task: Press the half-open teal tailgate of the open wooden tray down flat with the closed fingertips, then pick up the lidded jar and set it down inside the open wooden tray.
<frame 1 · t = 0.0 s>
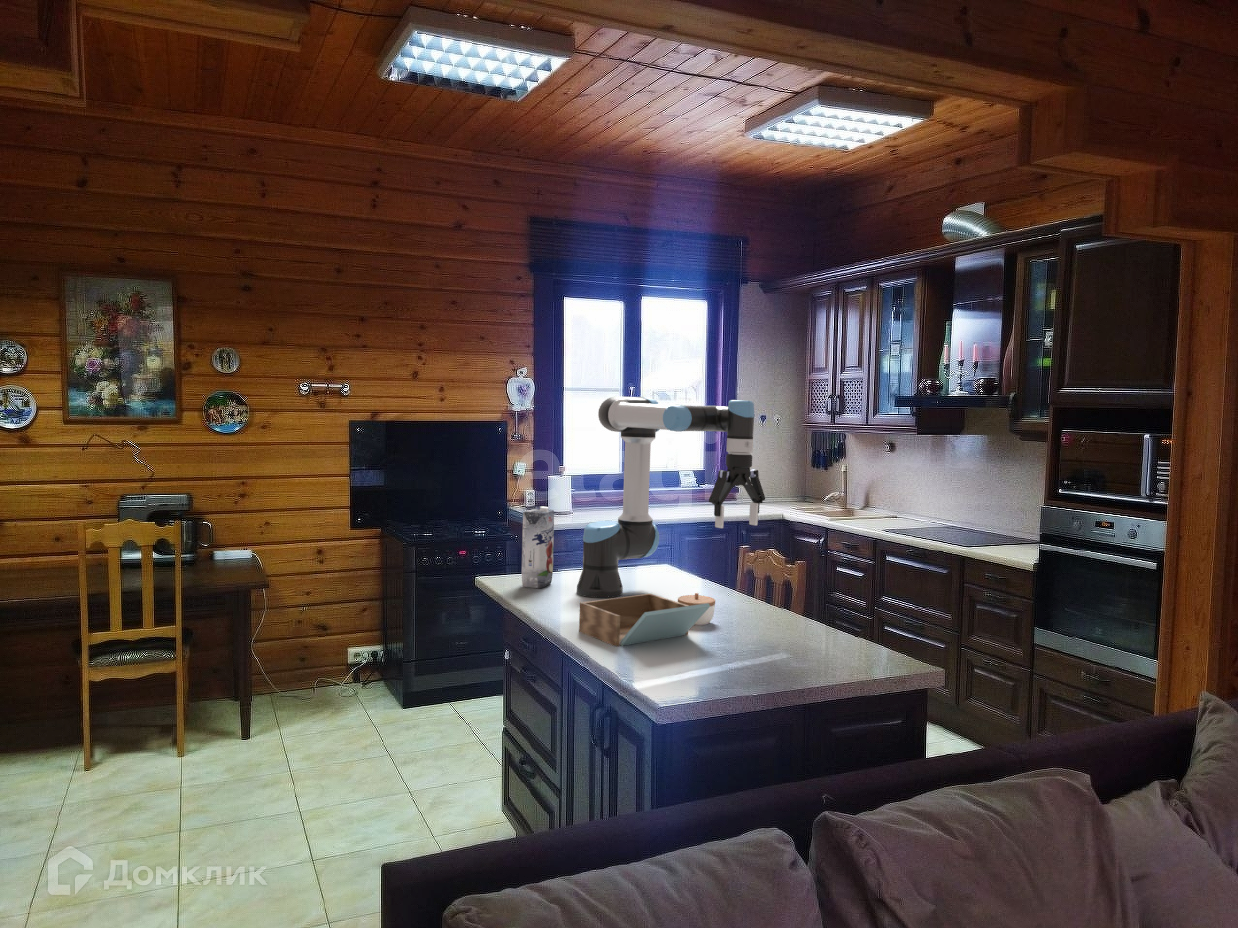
hand: (736, 526, 261), 28 cm above the counter, fingers open, 13 cm apart
open wooden tray: (633, 636, 242), on the counter
tailgate: (664, 625, 231), point 6 cm above the counter, hinge at 45.0°
juice carton: (536, 586, 304), on the counter
lidded jar: (695, 626, 257), on the counter
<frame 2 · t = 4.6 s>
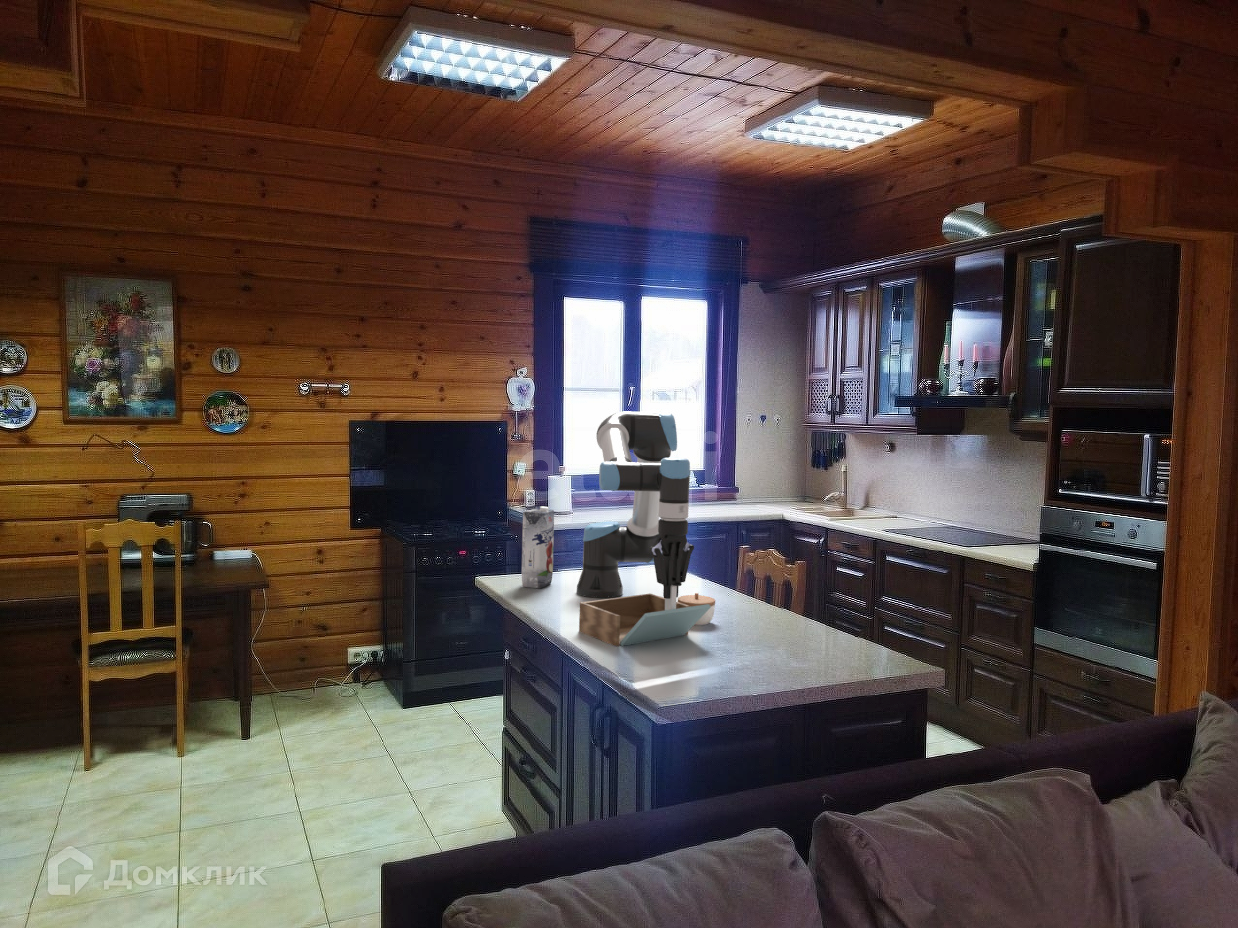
hand: (670, 610, 229), 10 cm above the counter, fingers closed
tailgate: (664, 625, 231), point 6 cm above the counter, hinge at 46.2°, touching gripper
everything else where it was.
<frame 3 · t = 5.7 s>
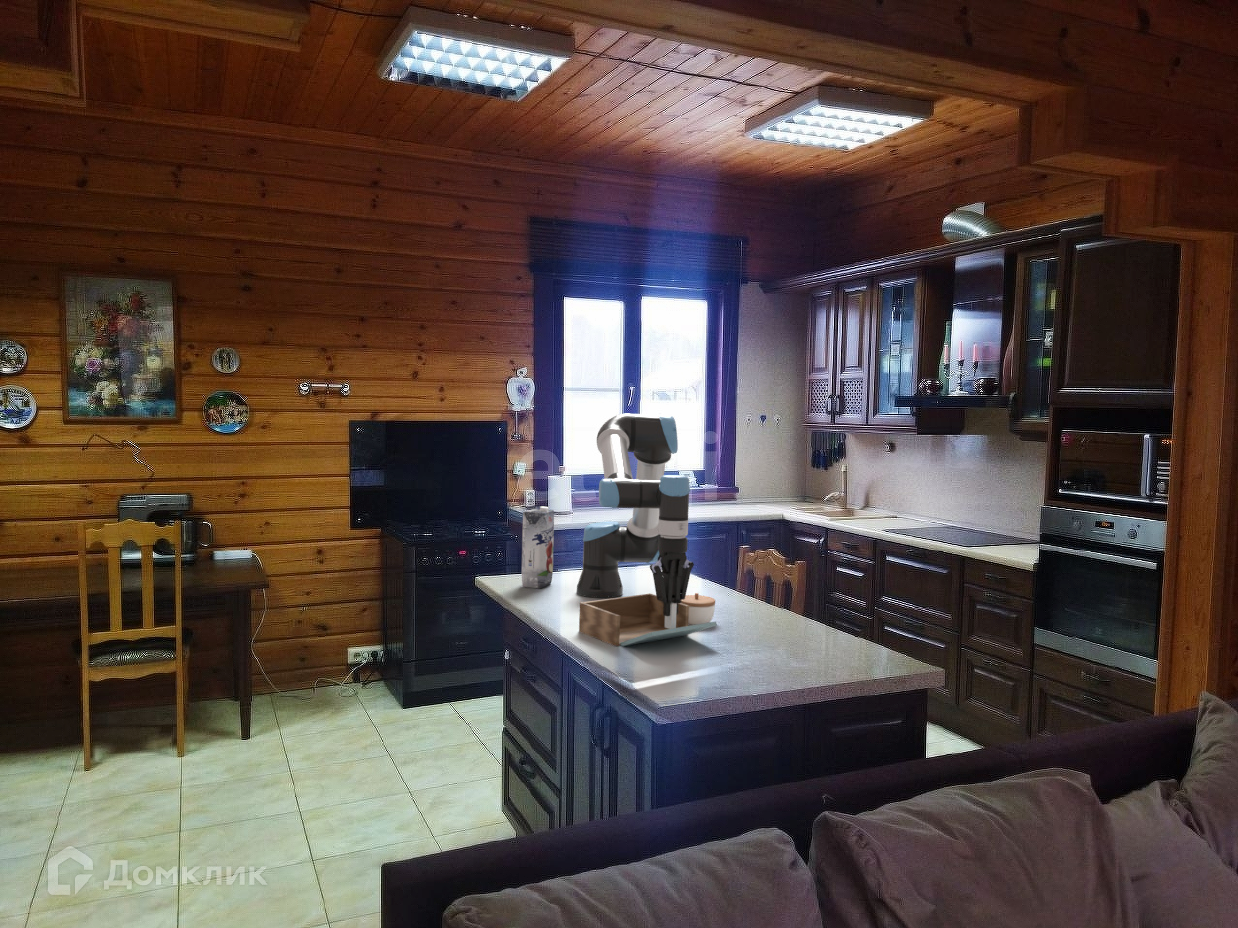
hand: (670, 627, 229), 6 cm above the counter, fingers closed
tailgate: (667, 634, 230), point 4 cm above the counter, hinge at 65.7°, touching gripper
everything else where it was.
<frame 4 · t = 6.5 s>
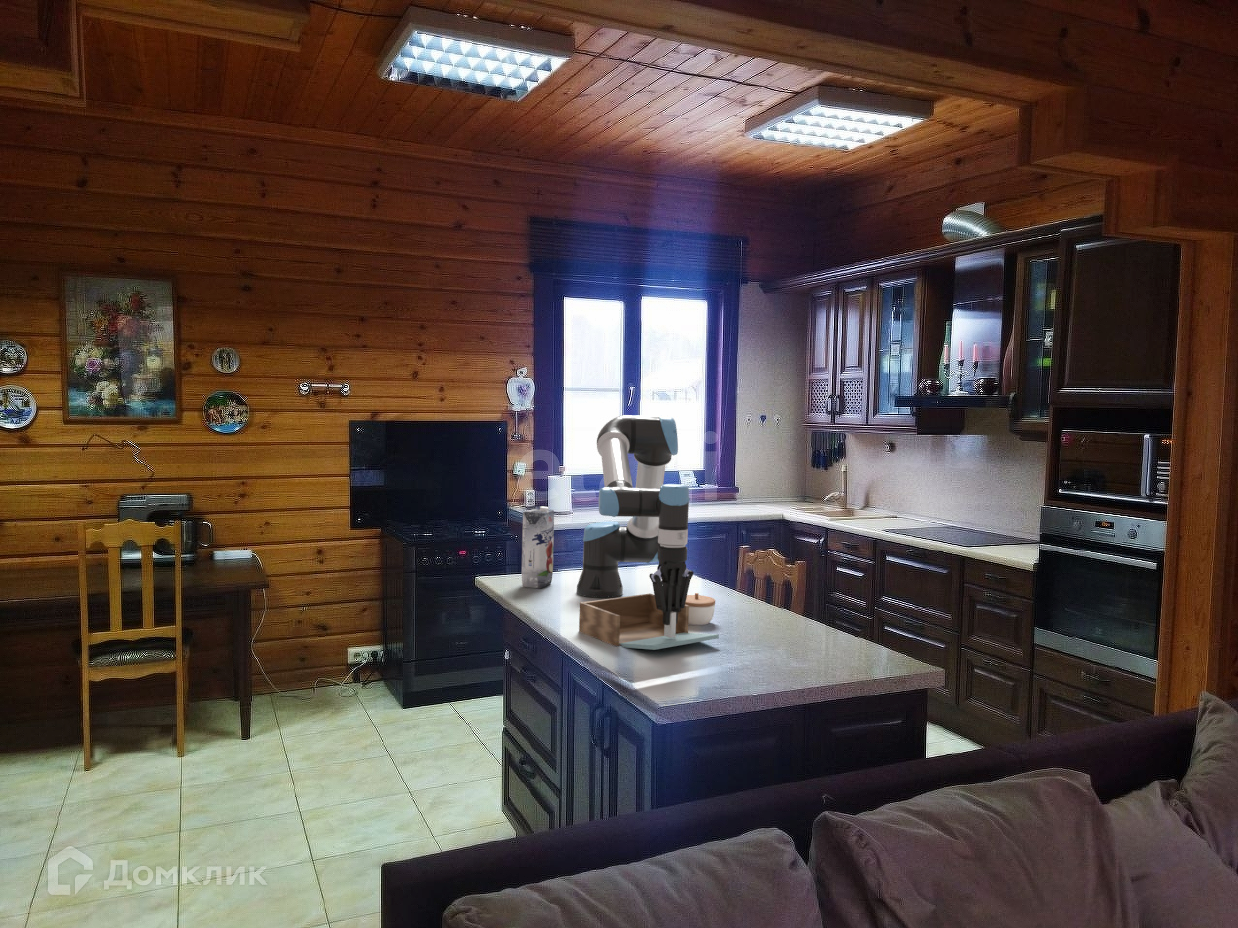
hand: (669, 636, 230), 4 cm above the counter, fingers closed
tailgate: (668, 640, 230), point 3 cm above the counter, hinge at 78.8°, touching gripper
everything else where it was.
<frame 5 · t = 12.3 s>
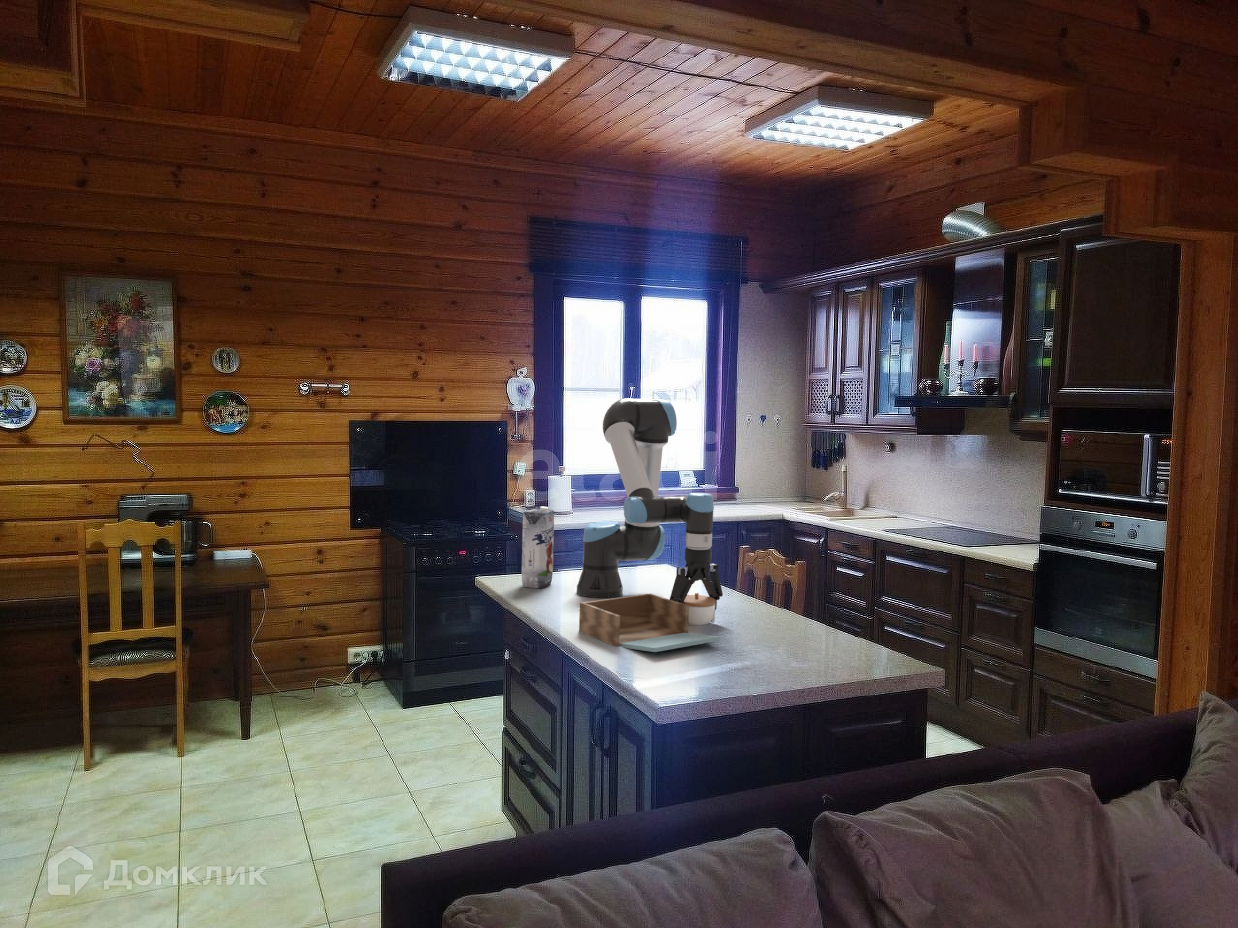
hand: (695, 623, 257), 0 cm above the counter, fingers closed on lidded jar, 11 cm apart
tailgate: (668, 641, 230), point 2 cm above the counter, hinge at 81.0°
lidded jar: (695, 626, 257), on the counter, touching gripper
everything else where it was.
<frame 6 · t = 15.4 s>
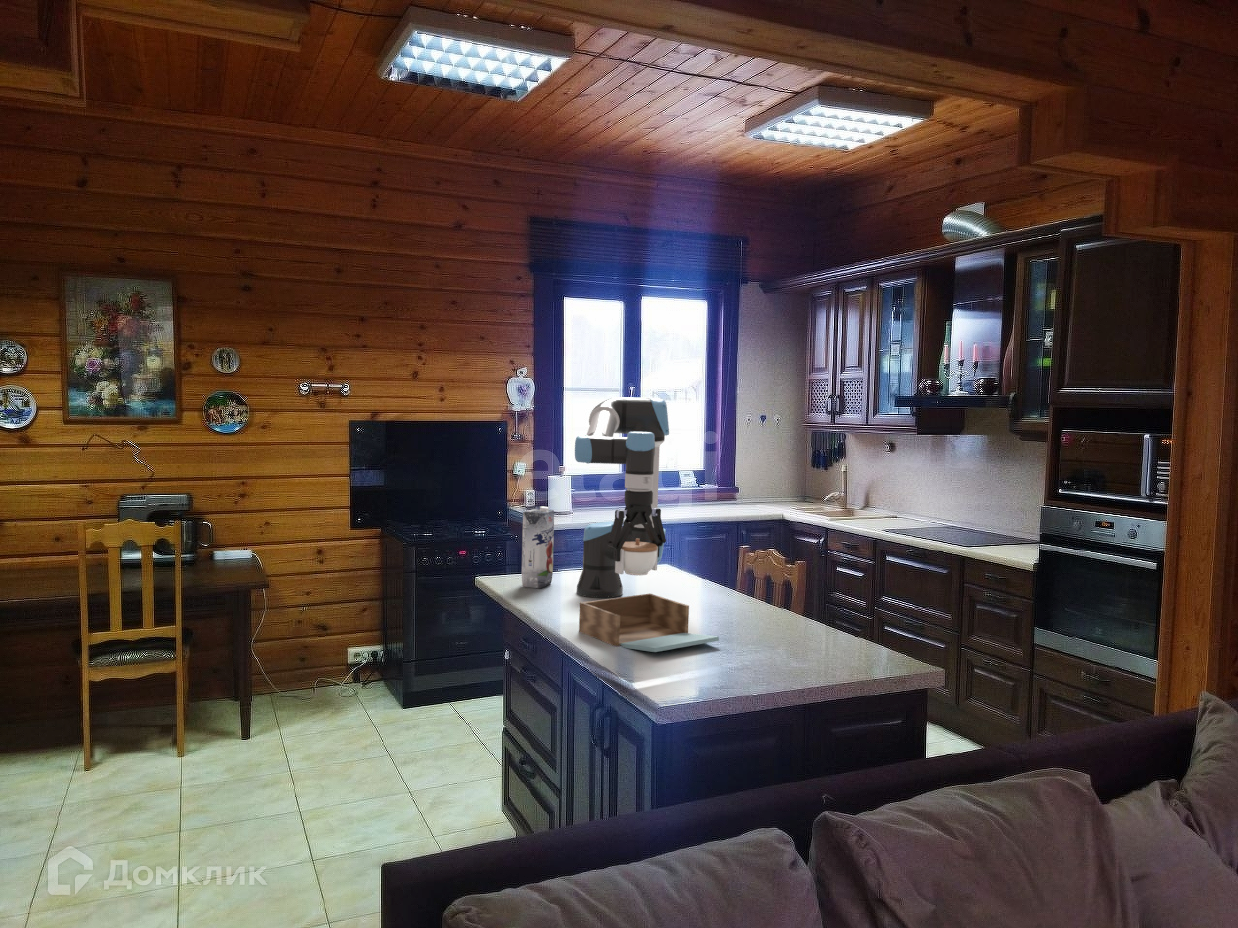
hand: (636, 571, 241), 18 cm above the counter, fingers closed on lidded jar, 11 cm apart
lidded jar: (636, 573, 241), point 17 cm above the counter, touching gripper
everything else where it was.
when the fingers open (4 cm above the counter, at t = 18.6 s): lidded jar drops 2 cm, resting on open wooden tray.
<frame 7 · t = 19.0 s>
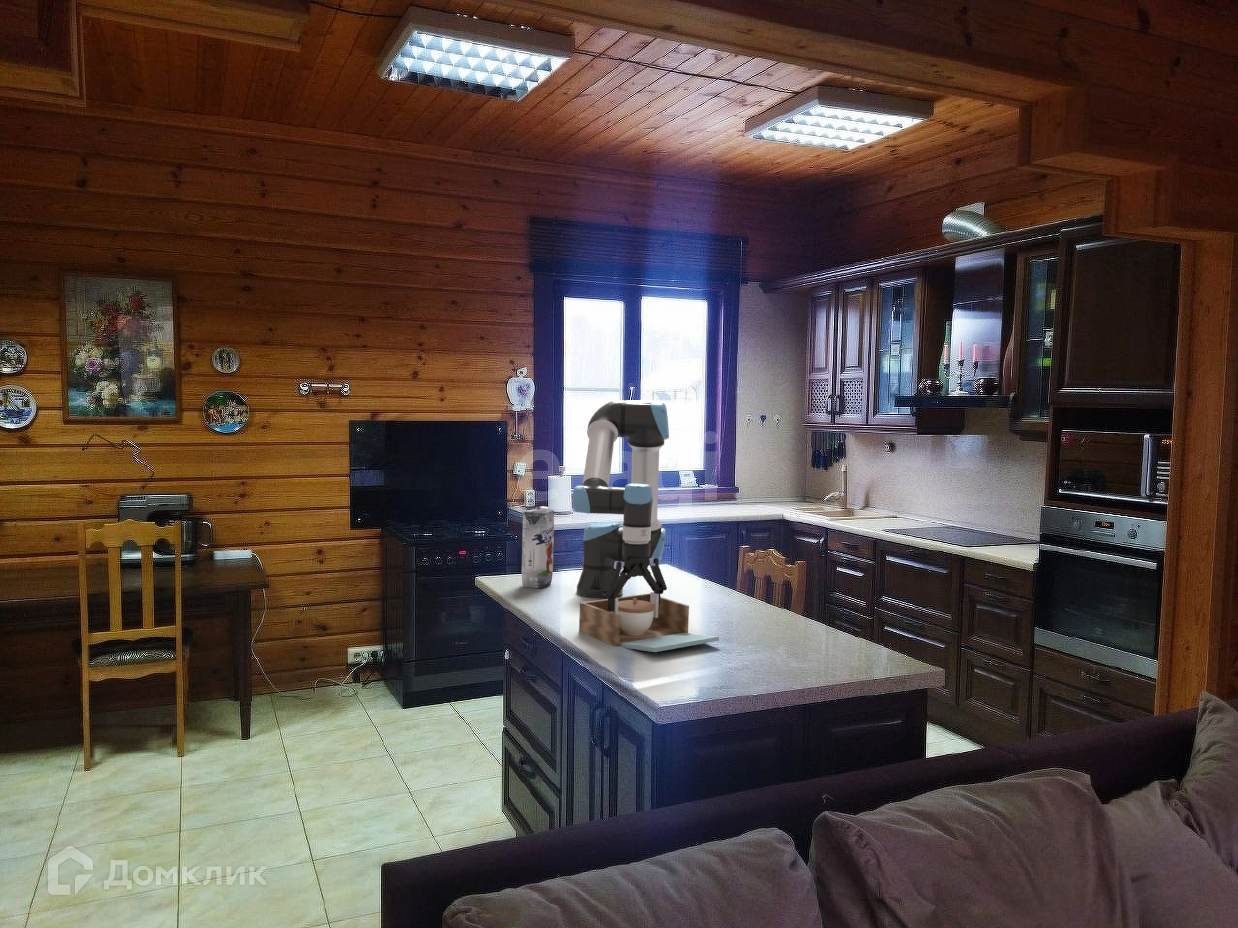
hand: (634, 619, 242), 5 cm above the counter, fingers open, 13 cm apart
lidded jar: (633, 633, 242), point 1 cm above the counter, touching open wooden tray
everything else where it was.
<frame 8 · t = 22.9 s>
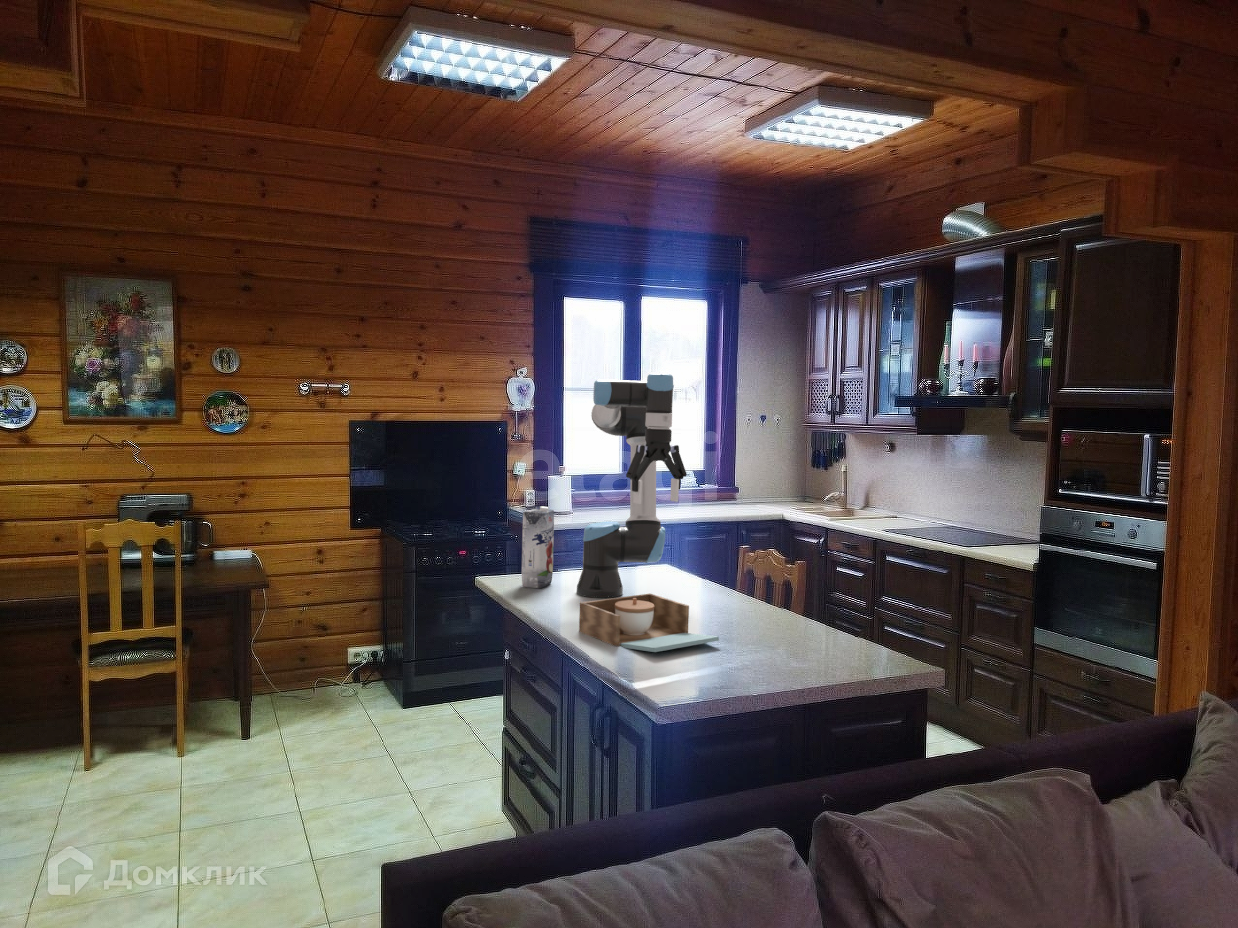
hand: (656, 502, 257), 35 cm above the counter, fingers open, 13 cm apart
nothing on the counter moved.
at the end: tailgate at +81° (first picture: +45°); lidded jar inside the target area on the open wooden tray (0.1 cm from its centre), point 1.0 cm above the open wooden tray's base; lidded jar tilted 0° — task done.
